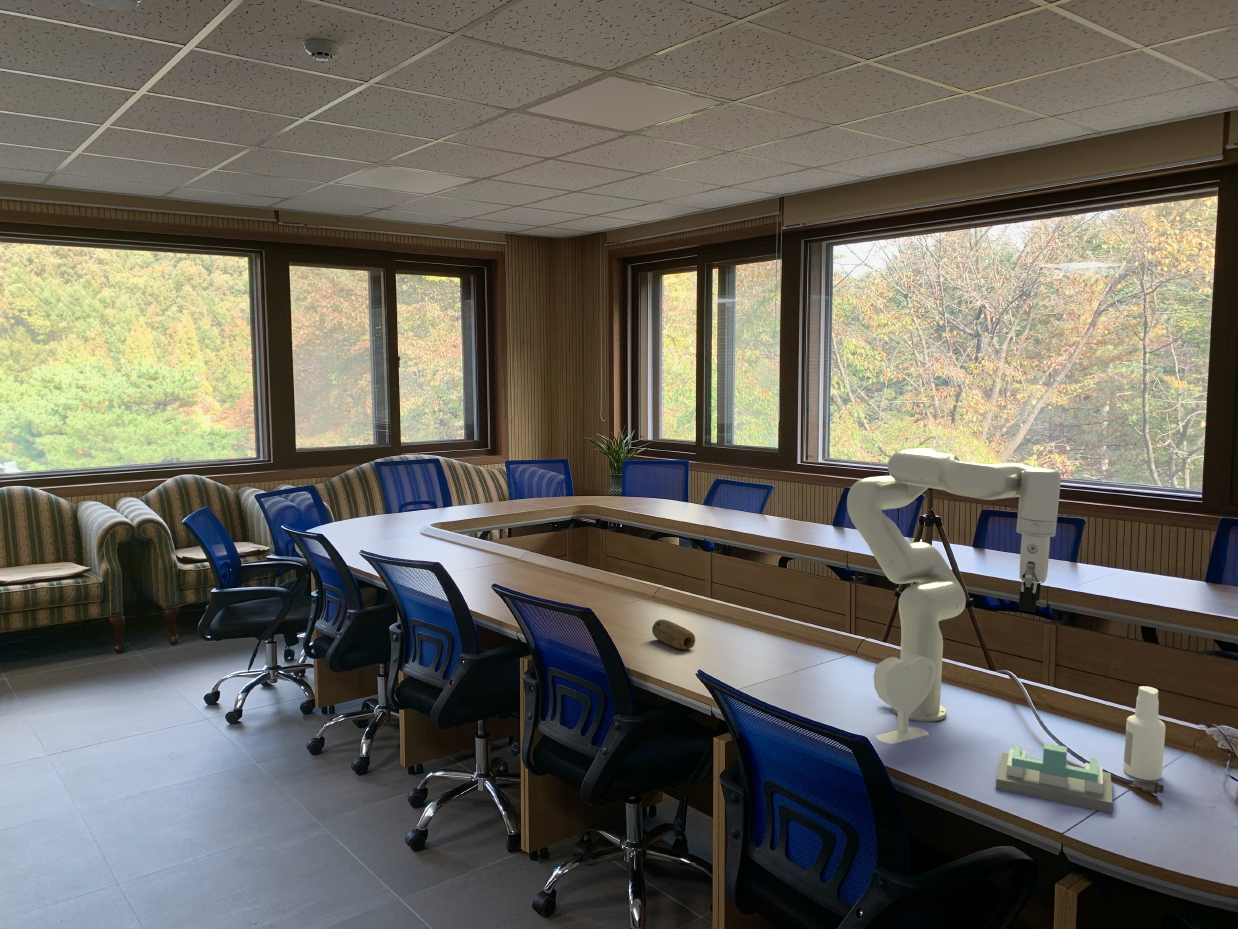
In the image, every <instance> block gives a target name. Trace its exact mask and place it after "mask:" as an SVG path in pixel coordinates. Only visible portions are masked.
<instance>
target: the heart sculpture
mask: <svg viewBox="0 0 1238 929" xmlns="http://www.w3.org/2000/svg"><path fill="white" fill-rule="evenodd" d="M900 658H901V657H900ZM900 658H898V657H895V656H891V657H888V658H885V659H883V660H882V661H880V662H879V663H877V665H876V666H875V667H874V672H873V686H874V690H875V692H876V693H877V696H878V698H879V699H880V700H882V701H883V702H884V703H885V705H886V704H887V705H888V706H890V707H891V708H892V707H893V708H895V709H896V710H897V711H898V715H897V723H896V724H897V726H896V730H893V731H889V732H884V733H881V734H877V735H876V734H875V738H876V739H877V740H879V741H880V742H883V743H886V744H890V745H892V744H897V743H900V742H901V743H902V742H905V741H909V740H912V739H916V738H922V737H924V736H929V735H930V734H929V732H928V731H927V730H925V728H924V729H923V728H920V727H917V726H909V720H910V719H909V716H910V714H911V713H912V712H913V711H914V710H915V709H916V708H917V707H918V706H919V705H920V704H921V703H922V702H923V701H924V700H925V698H926V697H927V696H928V694H929V693H930V690H931V688H932V686H933V684H934V680H935V674H936V664H935V662H934V661H933V660H931V659H929V658H926V657H923V656H920V655H917V654H906V655H905V656H904V657H902V658H901V659H900Z"/></svg>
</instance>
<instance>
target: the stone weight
mask: <svg viewBox="0 0 1238 929" xmlns="http://www.w3.org/2000/svg"><path fill="white" fill-rule="evenodd" d="M651 633H652V635H653V636H654V637H655V639H657V640H658V641H660V642H662V643H664V644H666V645H668V646H670V647H672V648H675V649H678V650H689V649H692V648H693V647H694V646H695V644H696V637H695V634H694V633H693V632H692V631H690V630H689V629H687V628H685V627H684V626H681V625H679V624H677V623H675V622H673V621H670V620H667V619H658V620H656V621H655V622H654V624H653V625H652V629H651Z"/></svg>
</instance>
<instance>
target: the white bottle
mask: <svg viewBox="0 0 1238 929" xmlns="http://www.w3.org/2000/svg"><path fill="white" fill-rule="evenodd" d="M1159 706H1160V701H1159V690H1158V689H1157V688H1154V687H1151V686H1147V685H1146V686H1144V685H1142V686H1141V685H1140V686H1138V695H1137V696H1136V706H1135V711H1134V714H1132V715H1130V716H1128V717H1127V718H1126V725H1125V740H1124V752H1123V766H1122V768H1123V771H1124V772H1125V773H1126V774H1127V775H1129V776H1130V777H1132V778H1135V779H1139V780H1143V781H1151V782H1152V781H1159V780H1161V778H1162V777H1163V767H1164V766H1163V764H1164V754H1165V753H1164V752H1165V742H1166V741H1165V738H1166V728H1167V726H1166V724H1165V723H1164V722H1163V721H1162V720H1161V719H1159V712H1160V711H1159Z"/></svg>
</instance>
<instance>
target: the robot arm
mask: <svg viewBox="0 0 1238 929" xmlns="http://www.w3.org/2000/svg"><path fill="white" fill-rule="evenodd" d="M887 471H888V473H889V475H879V476H878V475H877V476H869V477H864V478H861V479H859V480H857V481H856V482H855V483H853V484H852V486H850V488H849V491H848V494H847V499H846V508H847V514H848V515H849V518H850V521H851V523H852V525H854V527H855V529H856V530H857V531H858V532H859V534H860V535H861V537H862V538H863V540H864V541H865V543H866V544H867V546H868V548H869V550H870V551H871V553H872V555H873V556H874V559H875V560H876V561H877V563H878V565H879V567H880V568H881V571H882V572H883V573H884V574H885V576H886V577H887V579H888V580H889V581H890V582H892V583H894V584H898V585H902V584H910V583H915V582H918V583H916V584H912V585H910V586H908V587H907V588H905V589H904V590H903V591H902V593H901V594H900V596H899V599H898V611H899V612H898V613H899V618H900V630H901V633H900V634H901V635H900V636H901V639H900V658H899V659H901V658H902V657H904V656H905V655H906V654H917V655H920V656H923V657H926V658H929V659H931V660H933V661H934V662H935V664H936V674H935V680H934V684H933V686H932V688H931V690H930V693H929V694H928V696H927V697H926V698H925V700H924V701H923V702H922V703H921V704H920V705H919V706H918V707H917V708H916V709H915V710H914V711H913V712H912V713H911V714H910V716H909V720H911V721H912V720H913V721H918V722H937V721H941V720H944V719H946V717H947V712H948V711H947V709H946V707H945V706H943V705H942V704H941V694H942V693H941V690H942V671H943V656H944V655H943V654H944V652H943V650H944V640H943V634H942V631H941V628H940V625H939V622H940V621H945V620H948V619H952V618H955V617H957V616H959V615H961V614H962V612H963V611H964V610H965V607H966V603H967V602H966V601H967V599H966V594H965V592H964V589H963V587H962V585H961V583H960V582H959V580H958V579H957V577H956V576H955V574H954V572H953V570H952V569H951V568H950V566H949V564H948V563H947V561H946V559H945V558H944V557H943V556H942V554H941V553H940V551H939V550H938V549H937V548H936V547H935V546H933V545H931V544H930V543H928V542H924V541H916V542H909V541H908V540H907V539H906V538H905V536H904V535H903V534H902V532H901V530H900V528H899V527H898V525H897V524H896V523H895V522H894V521H893V520H892V519H891V518H889V516H887V515H886V514H885V513H884V512H883V511H884V510H885V511H886V510H892V509H900V508H903V507H906V506H908V505H910V504H911V503H912V502H914V501H915V500H916V499H917V498H918V497H919V496H920V495H922V494H923V493H924V492H925V491H927V490H928V489H933V490H940V491H945V492H946V493H947V492H948V493H950V494H952V495H953V494H954V495H957V496H961V497H966V498H967V497H968V498H973V499H979V500H992V501H993V500H1001V499H1007V498H1009V499H1010V498H1011V499H1012V498H1019V499H1018V508H1017V520H1016V530H1015V531H1016V533H1018V534H1021V541H1020V542H1021V543H1020V555H1019V579H1020V581H1021V588H1020V589H1021V590H1020V591H1019V597H1018V610H1019V611H1024V612H1031V613H1035V611H1036V608H1037V602H1039V601H1040V596H1041V586H1042V585H1041V584H1045V583H1046V580H1047V577H1048V568H1049V558H1050V547H1051V546H1050V545H1051V538H1053V537H1056V532H1057V523H1058V522H1057V521H1058V513H1059V511H1058V510H1059V501H1060V494H1061V492H1060V491H1061V483H1062V482H1061V480H1062V476H1061V474H1060V472H1059V471H1057V470H1055V469H1051V468H1046V467H1044V468H1043V467H1033V466H1029V465H1025V464H1022V463H1018V462H1006V463H1004V462H1003V463H1002V462H1001V463H992V464H982V463H973V462H964V461H960V459H959V458H958V455H957V456H956V455H955V454H952V453H944V452H938V451H936V450H935V449H932V448H929V447H919V448H918V447H917V448H904V449H900V450H898V451H896V452H894V453H892V455H891V456H890V458H889V459H888V463H887ZM891 710H892V712H893V713H895V715H897V716H898V711H897V710H896V709H895V708H893V707H891Z"/></svg>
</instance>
